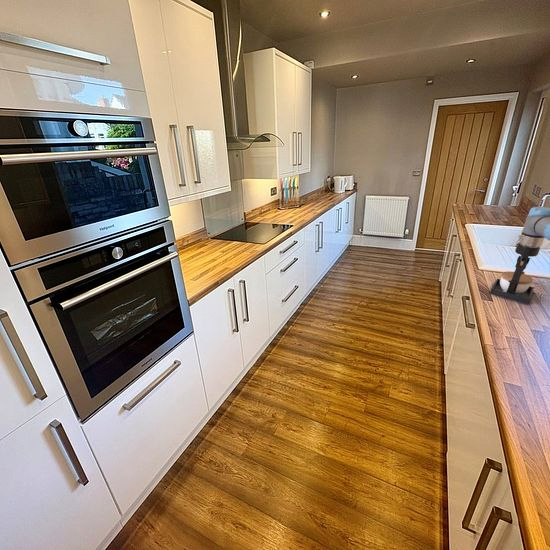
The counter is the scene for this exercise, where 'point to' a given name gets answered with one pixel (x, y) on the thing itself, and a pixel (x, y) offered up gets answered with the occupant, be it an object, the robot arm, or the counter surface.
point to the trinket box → (507, 276)
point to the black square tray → (521, 297)
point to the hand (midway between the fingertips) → (511, 291)
